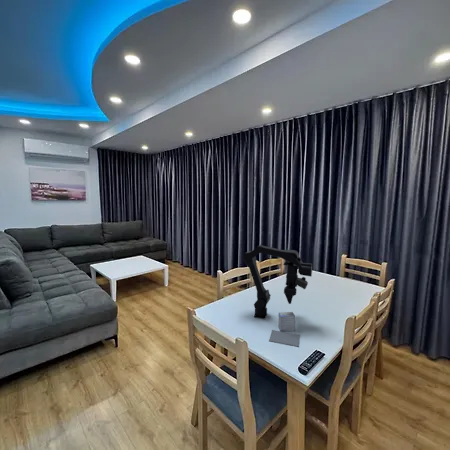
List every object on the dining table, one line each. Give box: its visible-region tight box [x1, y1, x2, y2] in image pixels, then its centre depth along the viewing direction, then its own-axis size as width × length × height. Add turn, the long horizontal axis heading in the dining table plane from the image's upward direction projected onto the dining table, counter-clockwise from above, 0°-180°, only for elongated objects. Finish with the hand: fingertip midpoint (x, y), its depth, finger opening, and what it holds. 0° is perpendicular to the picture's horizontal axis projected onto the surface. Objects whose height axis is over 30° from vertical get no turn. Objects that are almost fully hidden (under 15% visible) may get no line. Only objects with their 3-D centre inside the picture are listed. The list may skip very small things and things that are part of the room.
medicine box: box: [277, 311, 296, 332], centre depth 128 cm, size 8×4×9 cm, turn 92°
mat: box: [268, 329, 301, 348], centre depth 120 cm, size 14×10×1 cm
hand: (290, 300), depth 135 cm, fingers open, 9 cm apart
